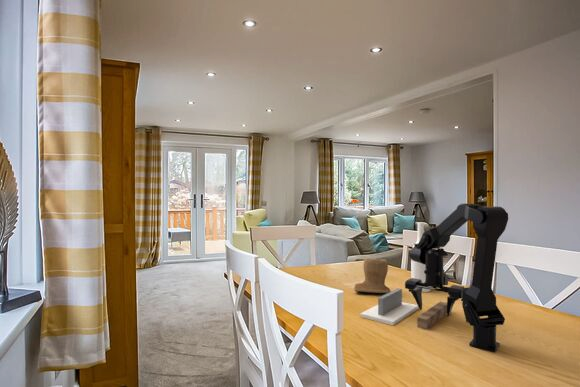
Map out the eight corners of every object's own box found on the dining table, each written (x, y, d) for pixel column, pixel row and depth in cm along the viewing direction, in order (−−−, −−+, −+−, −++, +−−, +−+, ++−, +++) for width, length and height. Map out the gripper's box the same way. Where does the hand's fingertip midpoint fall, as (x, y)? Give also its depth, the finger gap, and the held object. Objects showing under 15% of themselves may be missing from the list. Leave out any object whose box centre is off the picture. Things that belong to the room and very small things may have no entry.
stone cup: (388, 288, 157) (388, 255, 157) (391, 296, 146) (391, 260, 146) (354, 287, 160) (354, 254, 160) (354, 294, 149) (354, 259, 149)
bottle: (431, 292, 151) (431, 223, 151) (411, 291, 153) (411, 223, 153) (429, 287, 159) (429, 222, 159) (410, 286, 161) (410, 221, 161)
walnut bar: (426, 330, 111) (426, 319, 111) (417, 328, 113) (417, 317, 113) (448, 312, 127) (448, 303, 127) (440, 310, 129) (440, 301, 129)
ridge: (393, 325, 114) (393, 304, 114) (360, 316, 122) (360, 296, 122) (418, 308, 130) (418, 289, 130) (388, 302, 138) (388, 284, 138)
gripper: (470, 267, 120) (470, 312, 120) (416, 260, 132) (416, 301, 132) (460, 272, 111) (460, 321, 111) (404, 264, 123) (404, 308, 124)
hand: (434, 312), depth 120 cm, fingers open, 9 cm apart
